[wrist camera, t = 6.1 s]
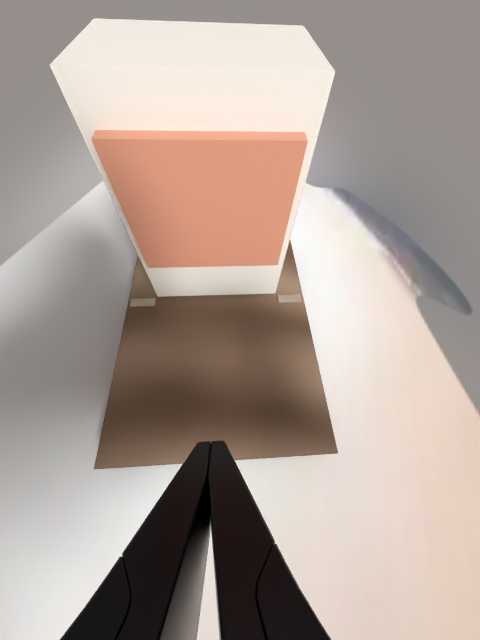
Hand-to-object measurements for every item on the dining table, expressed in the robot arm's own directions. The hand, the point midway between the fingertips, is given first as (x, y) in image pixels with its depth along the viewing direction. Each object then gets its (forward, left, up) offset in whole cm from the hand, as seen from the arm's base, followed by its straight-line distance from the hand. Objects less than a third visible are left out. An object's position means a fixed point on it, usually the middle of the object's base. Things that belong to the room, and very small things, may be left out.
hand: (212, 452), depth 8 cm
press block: (+9, -8, -5) cm, 13 cm away
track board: (+6, -5, -7) cm, 10 cm away
